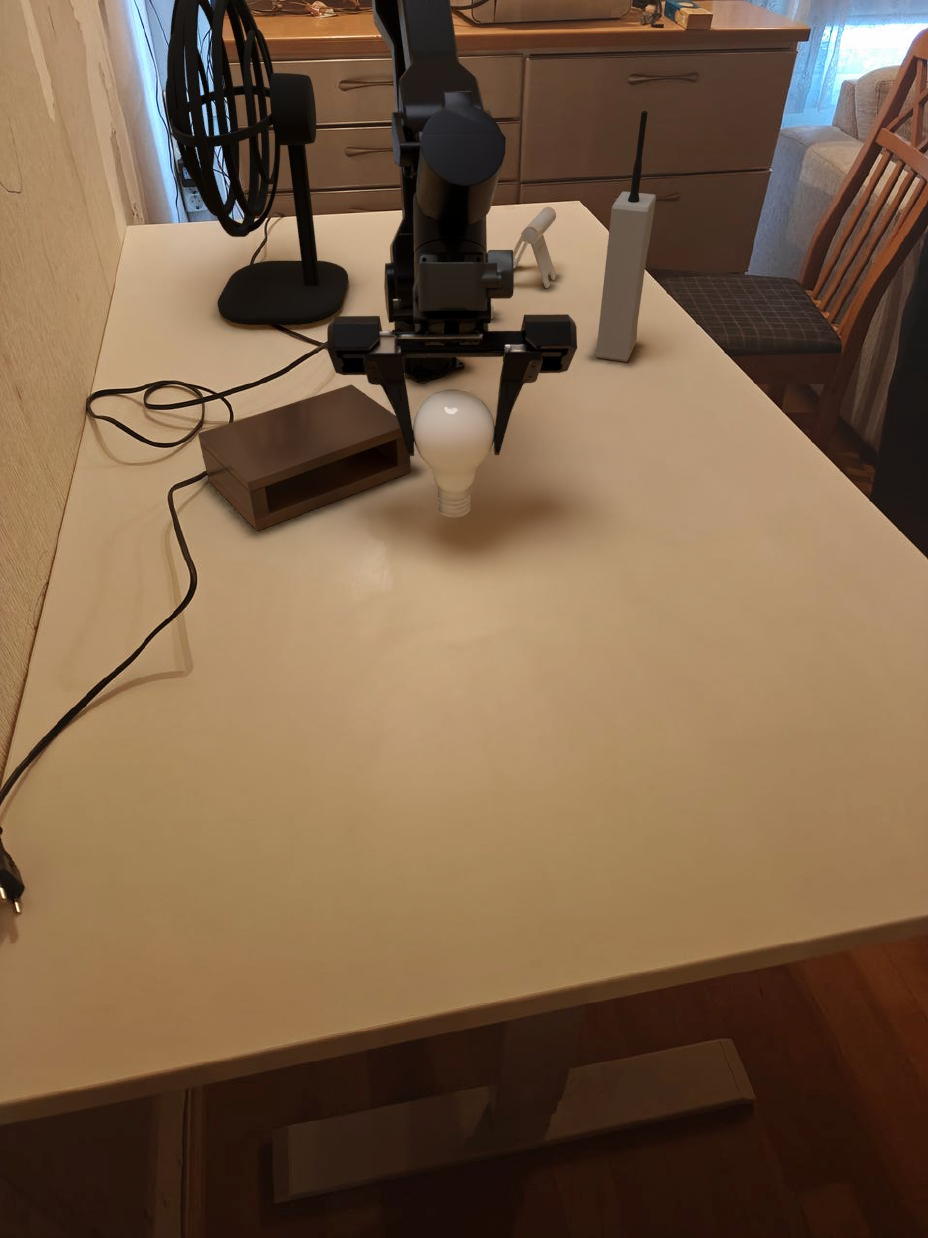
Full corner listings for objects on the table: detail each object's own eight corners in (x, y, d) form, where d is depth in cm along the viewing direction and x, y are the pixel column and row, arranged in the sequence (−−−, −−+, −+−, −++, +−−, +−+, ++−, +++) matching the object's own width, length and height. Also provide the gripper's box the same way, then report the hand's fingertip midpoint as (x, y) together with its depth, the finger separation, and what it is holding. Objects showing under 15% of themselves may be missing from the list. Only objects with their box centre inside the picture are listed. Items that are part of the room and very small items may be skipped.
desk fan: (233, 260, 124) (180, -48, 101) (356, 261, 124) (331, -48, 101) (187, 341, 104) (107, -23, 80) (334, 341, 104) (297, -22, 80)
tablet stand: (506, 265, 123) (508, 202, 117) (560, 272, 121) (565, 208, 115) (486, 286, 117) (488, 221, 111) (543, 294, 115) (547, 228, 109)
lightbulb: (484, 541, 70) (487, 418, 62) (407, 531, 71) (402, 409, 63) (498, 497, 74) (502, 378, 67) (426, 489, 75) (422, 370, 68)
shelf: (355, 429, 88) (351, 383, 85) (411, 472, 82) (409, 424, 79) (208, 480, 81) (197, 432, 77) (257, 531, 75) (247, 482, 71)
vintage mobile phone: (635, 345, 103) (668, 104, 86) (627, 363, 99) (660, 115, 83) (604, 341, 104) (631, 102, 87) (595, 358, 100) (621, 112, 84)
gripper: (315, 203, 60) (317, 427, 59) (586, 201, 60) (592, 424, 59) (335, 275, 71) (337, 465, 70) (564, 273, 71) (568, 462, 70)
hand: (454, 454), depth 67 cm, fingers closed on lightbulb, 6 cm apart
